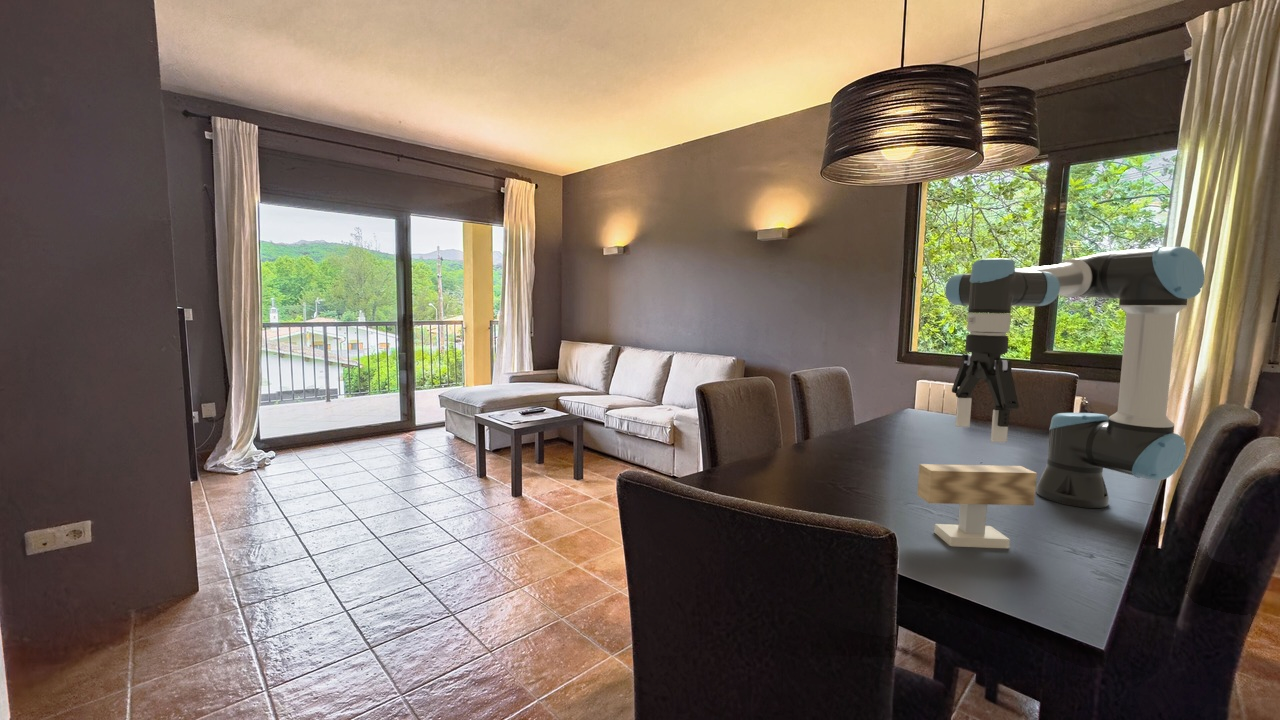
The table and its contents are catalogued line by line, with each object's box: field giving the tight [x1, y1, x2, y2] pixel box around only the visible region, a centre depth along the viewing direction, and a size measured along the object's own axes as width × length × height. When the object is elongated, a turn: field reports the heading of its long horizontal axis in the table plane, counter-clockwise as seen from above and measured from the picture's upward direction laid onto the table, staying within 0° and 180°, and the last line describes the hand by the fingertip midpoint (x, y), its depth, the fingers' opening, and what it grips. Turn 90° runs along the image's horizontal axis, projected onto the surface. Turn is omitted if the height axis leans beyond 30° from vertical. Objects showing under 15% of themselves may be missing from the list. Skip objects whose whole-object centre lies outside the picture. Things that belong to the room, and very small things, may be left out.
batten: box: [916, 463, 1038, 506], centre depth 117 cm, size 22×5×7 cm, turn 89°
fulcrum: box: [933, 504, 1011, 549], centre depth 118 cm, size 12×7×9 cm, turn 87°
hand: (979, 433), depth 116 cm, fingers open, 13 cm apart
